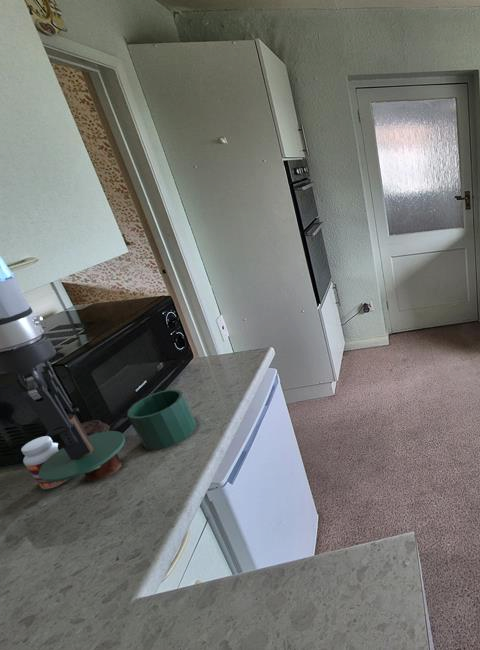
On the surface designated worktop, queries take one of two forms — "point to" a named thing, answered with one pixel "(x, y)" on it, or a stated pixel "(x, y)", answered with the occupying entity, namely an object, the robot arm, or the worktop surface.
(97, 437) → the tin lid
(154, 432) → the tin
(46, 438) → the pill bottle
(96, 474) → the brown jar
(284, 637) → the worktop surface
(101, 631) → the worktop surface
